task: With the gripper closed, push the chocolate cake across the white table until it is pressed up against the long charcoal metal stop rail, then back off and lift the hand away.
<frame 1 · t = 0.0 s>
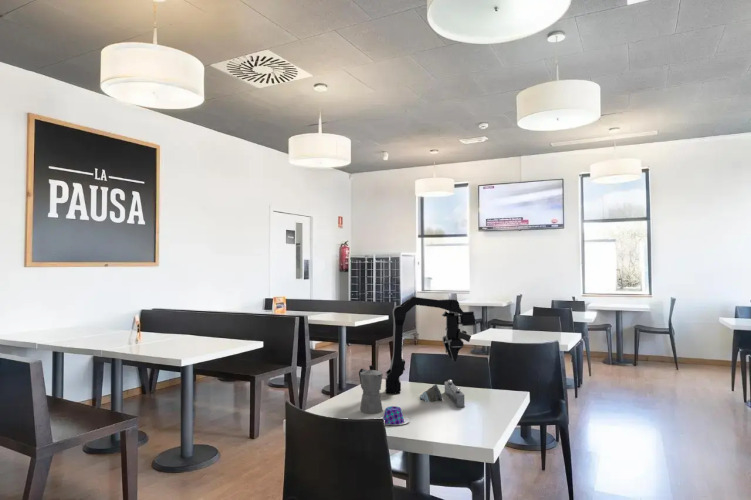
hand: (452, 359, 234), 15 cm above the table, tool pointing down, fingers open, 9 cm apart
stop rail: (454, 399, 218), on the table
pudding: (393, 422, 186), on the table
chocolate cake: (428, 400, 219), on the table
coffeepot: (369, 410, 201), on the table
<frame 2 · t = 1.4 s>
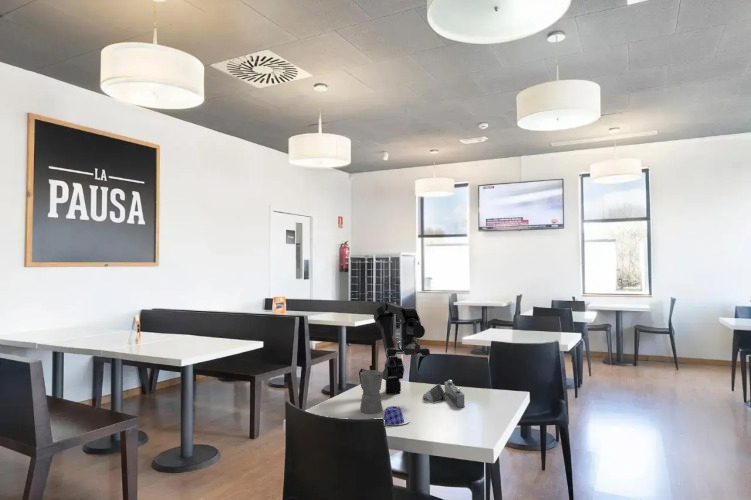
hand: (407, 371, 219), 12 cm above the table, tool pointing down, fingers open, 8 cm apart
chocolate cake: (431, 399, 220), on the table
everything else where it was.
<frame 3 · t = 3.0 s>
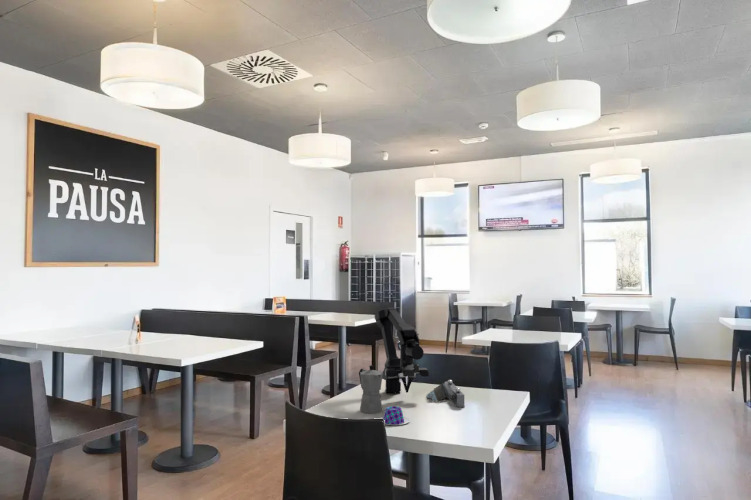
hand: (406, 392, 218), 3 cm above the table, tool pointing down, fingers closed
chocolate cake: (435, 399, 221), on the table
everything else where it was.
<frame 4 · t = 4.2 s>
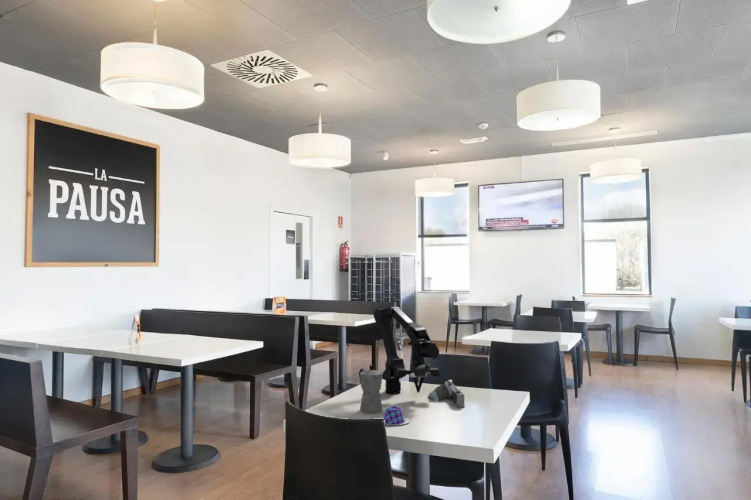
hand: (418, 392, 219), 3 cm above the table, tool pointing down, fingers closed
chocolate cake: (436, 398, 222), on the table
everything else where it was.
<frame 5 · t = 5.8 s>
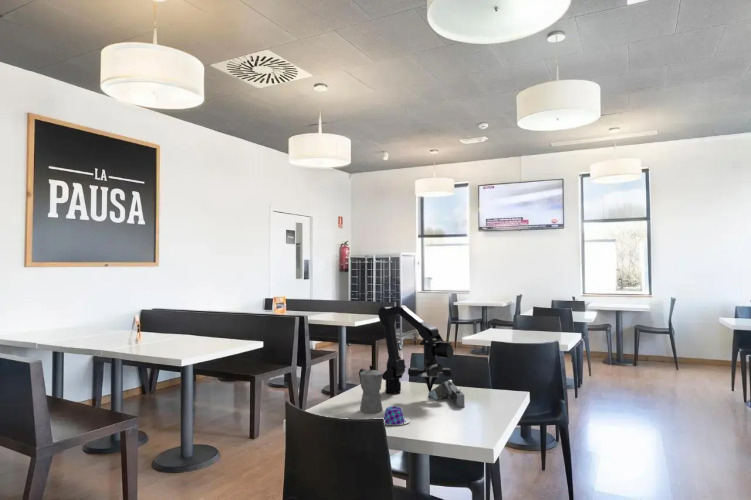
hand: (429, 392, 219), 3 cm above the table, tool pointing down, fingers closed
chocolate cake: (436, 397, 223), on the table, touching gripper, stop rail
everything else where it was.
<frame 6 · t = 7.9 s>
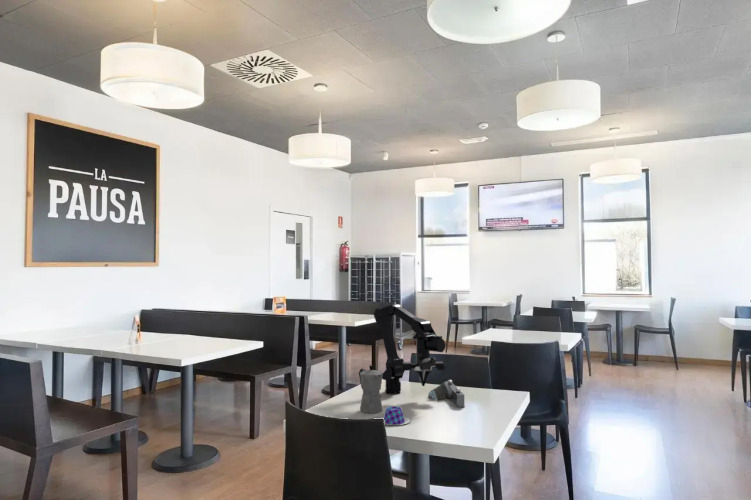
hand: (423, 385, 219), 6 cm above the table, tool pointing down, fingers closed
chocolate cake: (436, 398, 223), on the table
everything else where it was.
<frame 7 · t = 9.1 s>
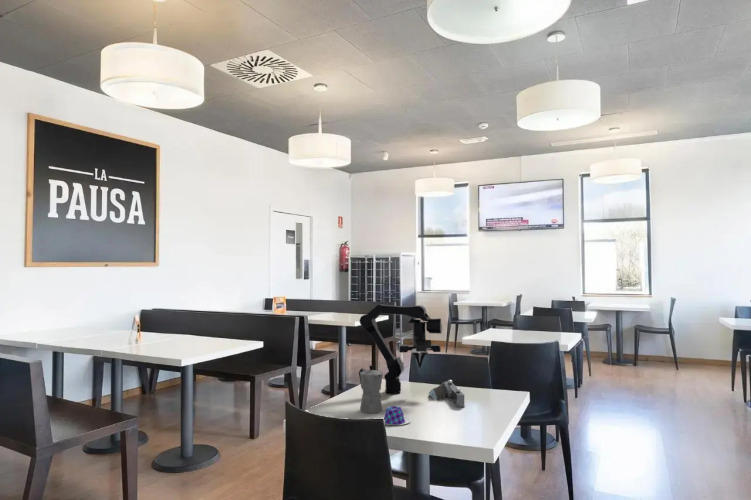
hand: (419, 367, 229), 12 cm above the table, tool pointing down, fingers closed
nothing on the table moved.
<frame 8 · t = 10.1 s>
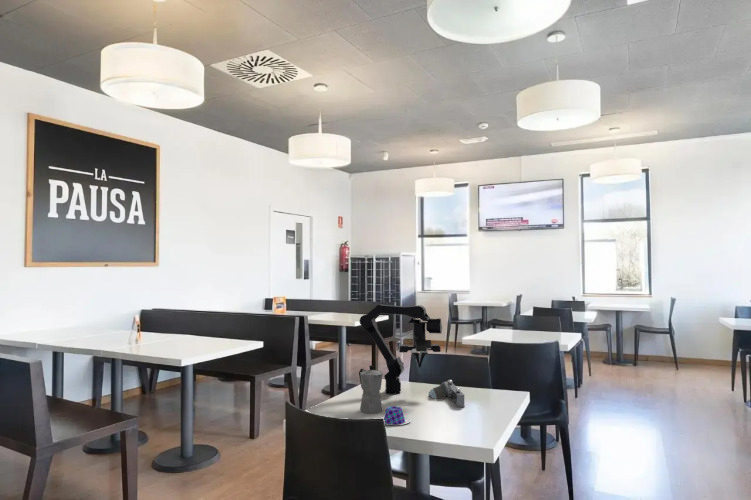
hand: (419, 367, 229), 12 cm above the table, tool pointing down, fingers closed
at the end: chocolate cake inside the target area (5.9 cm from its centre), on the table; chocolate cake moved 7.2 cm from its start; chocolate cake tilted 0° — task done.
